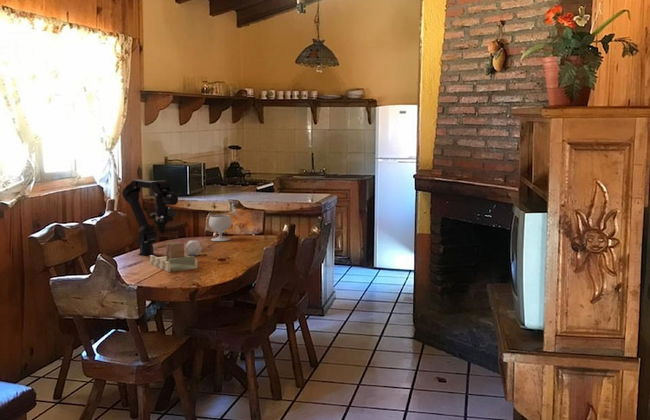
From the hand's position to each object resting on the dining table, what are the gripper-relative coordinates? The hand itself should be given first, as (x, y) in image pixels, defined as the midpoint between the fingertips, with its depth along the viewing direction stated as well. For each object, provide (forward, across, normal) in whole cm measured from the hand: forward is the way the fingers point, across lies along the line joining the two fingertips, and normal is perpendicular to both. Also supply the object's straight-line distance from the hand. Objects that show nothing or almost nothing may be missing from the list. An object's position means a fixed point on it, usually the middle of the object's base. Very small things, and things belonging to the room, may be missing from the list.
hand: (162, 233), depth 357 cm
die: (+13, -4, -16) cm, 21 cm away
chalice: (+13, +30, -50) cm, 60 cm away
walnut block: (+10, -28, +5) cm, 30 cm away
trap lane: (+13, -24, +5) cm, 28 cm away
